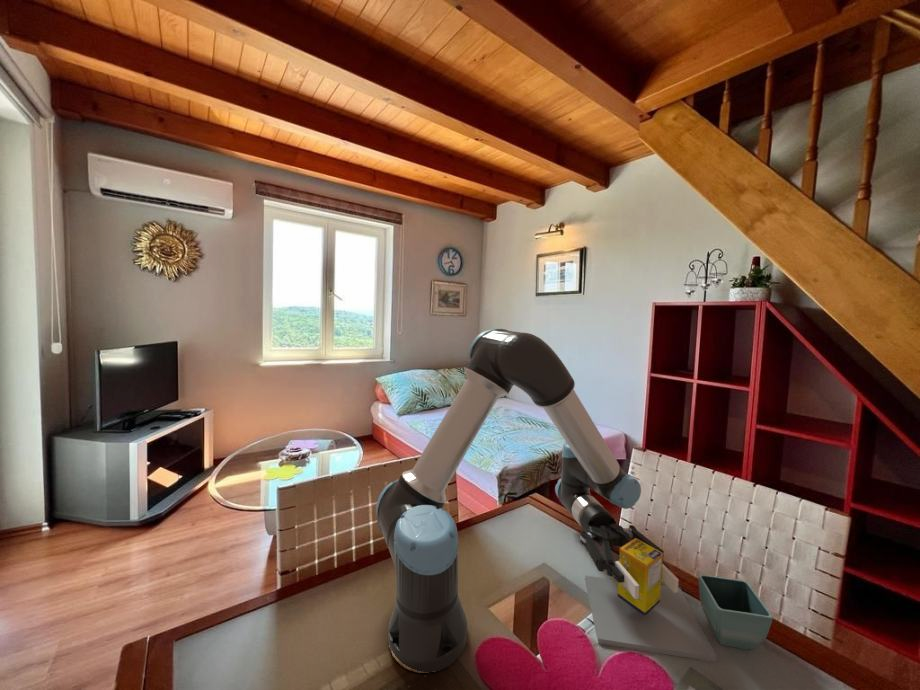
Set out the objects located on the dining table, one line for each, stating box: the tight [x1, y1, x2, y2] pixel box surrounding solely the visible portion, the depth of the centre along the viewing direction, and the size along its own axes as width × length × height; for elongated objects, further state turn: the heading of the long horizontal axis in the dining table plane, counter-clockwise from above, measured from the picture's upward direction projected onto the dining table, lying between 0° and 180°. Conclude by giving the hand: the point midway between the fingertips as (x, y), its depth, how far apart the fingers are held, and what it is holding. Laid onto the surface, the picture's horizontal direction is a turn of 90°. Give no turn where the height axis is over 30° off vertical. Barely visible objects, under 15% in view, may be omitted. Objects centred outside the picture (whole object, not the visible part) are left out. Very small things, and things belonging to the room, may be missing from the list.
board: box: [584, 575, 717, 663], centre depth 74 cm, size 20×16×1 cm
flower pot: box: [698, 574, 774, 650], centre depth 69 cm, size 9×9×9 cm
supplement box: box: [618, 538, 664, 616], centre depth 74 cm, size 6×6×11 cm
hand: (656, 589), depth 69 cm, fingers closed on supplement box, 8 cm apart
